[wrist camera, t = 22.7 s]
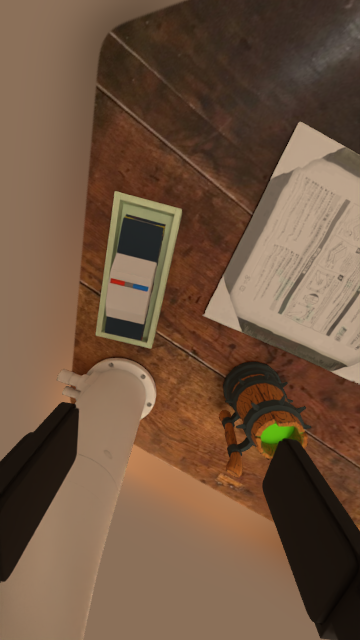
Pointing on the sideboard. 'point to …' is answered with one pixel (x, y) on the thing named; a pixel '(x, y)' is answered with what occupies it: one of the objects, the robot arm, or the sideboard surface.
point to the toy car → (133, 277)
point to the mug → (258, 413)
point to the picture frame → (301, 258)
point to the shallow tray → (172, 220)
